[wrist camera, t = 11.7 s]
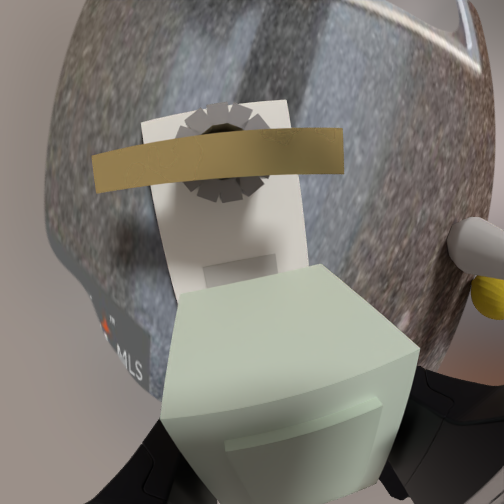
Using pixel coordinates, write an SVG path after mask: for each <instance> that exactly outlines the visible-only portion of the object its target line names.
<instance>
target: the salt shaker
mask: <svg viewBox="0 0 504 504" xmlns="http://www.w3.org/2000/svg"><path fill="white" fill-rule="evenodd" d="M447 246H448V252H449V256H450V257H451V259H452V260H453V262H454V263H455V264H456V266H457V267H458V268H459V269H461V270H462V271H464V272H465V273H468V274H474V275H479V276H485V277H490V278H496V279H501V280H504V230H502V229H501V228H499V227H497V226H495V225H493V224H491V223H490V222H488V221H486V220H484V219H482V218H480V217H469V218H467V219H465V220H462V221H460V222H458V223H456V224H453V225H452V228H451V230H450V233H449V235H448V238H447Z"/></svg>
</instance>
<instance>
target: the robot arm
mask: <svg viewBox="0 0 504 504" xmlns="http://www.w3.org/2000/svg"><path fill="white" fill-rule="evenodd" d="M379 480H380V481H381V482H382V484H383V485H384V487H385V488H386V490H387V491H388V493H389V494H390V496H392V497H394V498H396V499H399V500H404V499H405V498H407V497H410V498H411V499H412V501H413V502H414V504H504V385H502V386H489V385H484V384H479V383H475V382H470V381H465V380H461V379H457V378H452V377H449V376H445V375H442V374H439V373H436V372H433V371H430V370H428V369H426V370H425V369H424V368H422V367H421V366H416V370H415V375H414V379H413V383H412V386H411V390H410V394H409V397H408V401H407V404H406V408H405V411H404V414H403V417H402V420H401V423H400V426H399V429H398V432H397V435H396V438H395V440H394V443H393V446H392V448H391V451H390V453H389V456H388V458H387V461H386V463H385V465H384V468H383V470H382V472H381V474H380V477H379ZM85 504H217V499H216V498H215V497H214V495H213V494H212V493H211V492H210V491H209V489H208V488H207V487H206V486H205V484H204V483H203V482H202V480H201V479H200V478H199V477H198V475H197V474H196V473H195V471H194V470H193V468H192V467H191V466H190V464H189V463H188V462H187V460H186V459H185V457H184V456H183V454H182V453H181V452H180V450H179V449H178V447H177V446H176V444H175V443H174V441H173V440H172V438H171V436H170V435H169V433H168V432H167V430H166V429H165V427H164V425H163V424H162V422H161V420H160V418H159V420H158V421H157V423H156V424H155V425H154V427H153V428H152V429H151V431H150V432H149V434H148V435H147V437H146V438H145V439H144V441H143V442H142V444H141V445H140V446H139V448H138V449H137V451H136V452H135V453H134V455H133V456H132V457H131V458H130V460H129V461H128V462H127V463H126V465H125V466H124V467H123V468H122V469H121V470H120V471H119V472H118V474H117V475H116V476H115V477H114V478H113V479H112V480H111V481H110V482H109V483H108V484H107V485H106V486H105V487H104V488H103V489H102V490H101V491H100V492H99V493H98V494H97V495H96V496H95V497H94V498H93V499H92V500H90V501H89V502H87V503H85Z"/></svg>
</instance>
